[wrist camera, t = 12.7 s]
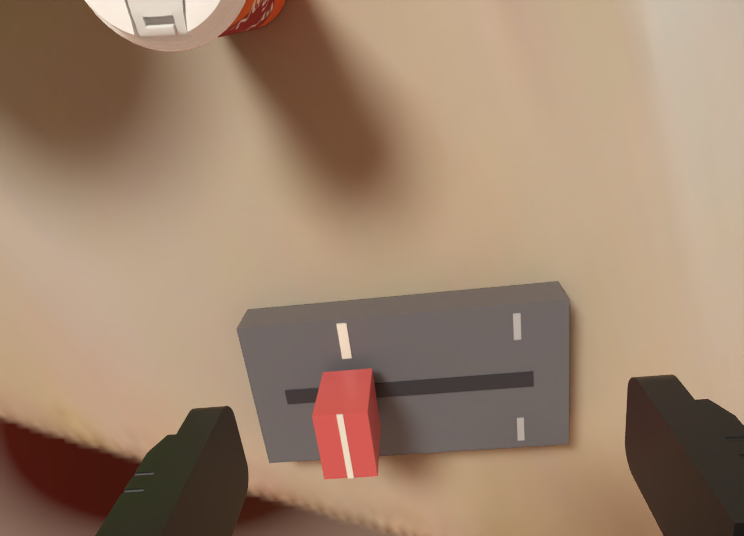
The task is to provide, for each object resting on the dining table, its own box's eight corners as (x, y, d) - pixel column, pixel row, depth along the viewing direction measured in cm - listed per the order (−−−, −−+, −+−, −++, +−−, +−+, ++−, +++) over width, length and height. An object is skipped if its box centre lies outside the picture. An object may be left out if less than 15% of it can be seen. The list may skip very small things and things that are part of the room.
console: (558, 281, 40) (569, 299, 37) (558, 418, 45) (569, 445, 42) (247, 309, 42) (236, 329, 40) (277, 437, 47) (269, 463, 44)
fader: (372, 363, 40) (367, 412, 34) (381, 421, 41) (377, 476, 36) (324, 367, 40) (311, 416, 35) (334, 424, 42) (324, 479, 37)
